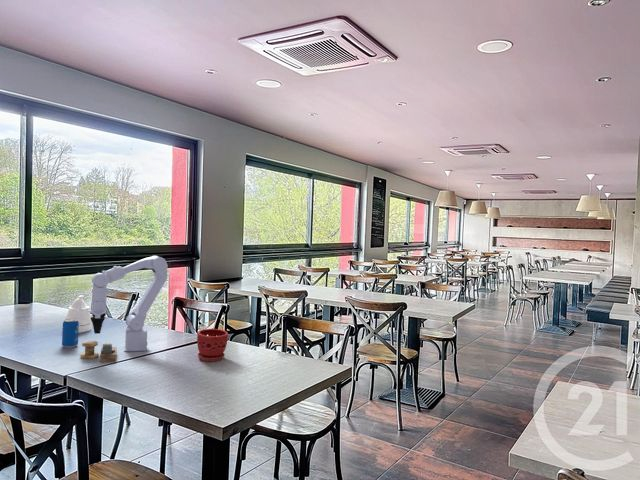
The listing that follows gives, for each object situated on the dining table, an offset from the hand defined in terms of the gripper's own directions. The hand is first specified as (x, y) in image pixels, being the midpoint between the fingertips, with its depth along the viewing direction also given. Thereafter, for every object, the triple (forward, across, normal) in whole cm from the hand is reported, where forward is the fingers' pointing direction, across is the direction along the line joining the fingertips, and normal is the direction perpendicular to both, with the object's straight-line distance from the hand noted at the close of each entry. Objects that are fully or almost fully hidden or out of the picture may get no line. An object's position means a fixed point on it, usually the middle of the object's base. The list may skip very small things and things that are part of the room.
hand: (97, 331), depth 208 cm
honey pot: (+10, -46, -12) cm, 49 cm away
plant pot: (+10, +18, +47) cm, 51 cm away
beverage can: (+10, -13, -12) cm, 20 cm away
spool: (+9, +6, -2) cm, 11 cm away
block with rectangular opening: (+9, +9, +5) cm, 14 cm away
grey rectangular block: (+10, +11, +4) cm, 15 cm away
